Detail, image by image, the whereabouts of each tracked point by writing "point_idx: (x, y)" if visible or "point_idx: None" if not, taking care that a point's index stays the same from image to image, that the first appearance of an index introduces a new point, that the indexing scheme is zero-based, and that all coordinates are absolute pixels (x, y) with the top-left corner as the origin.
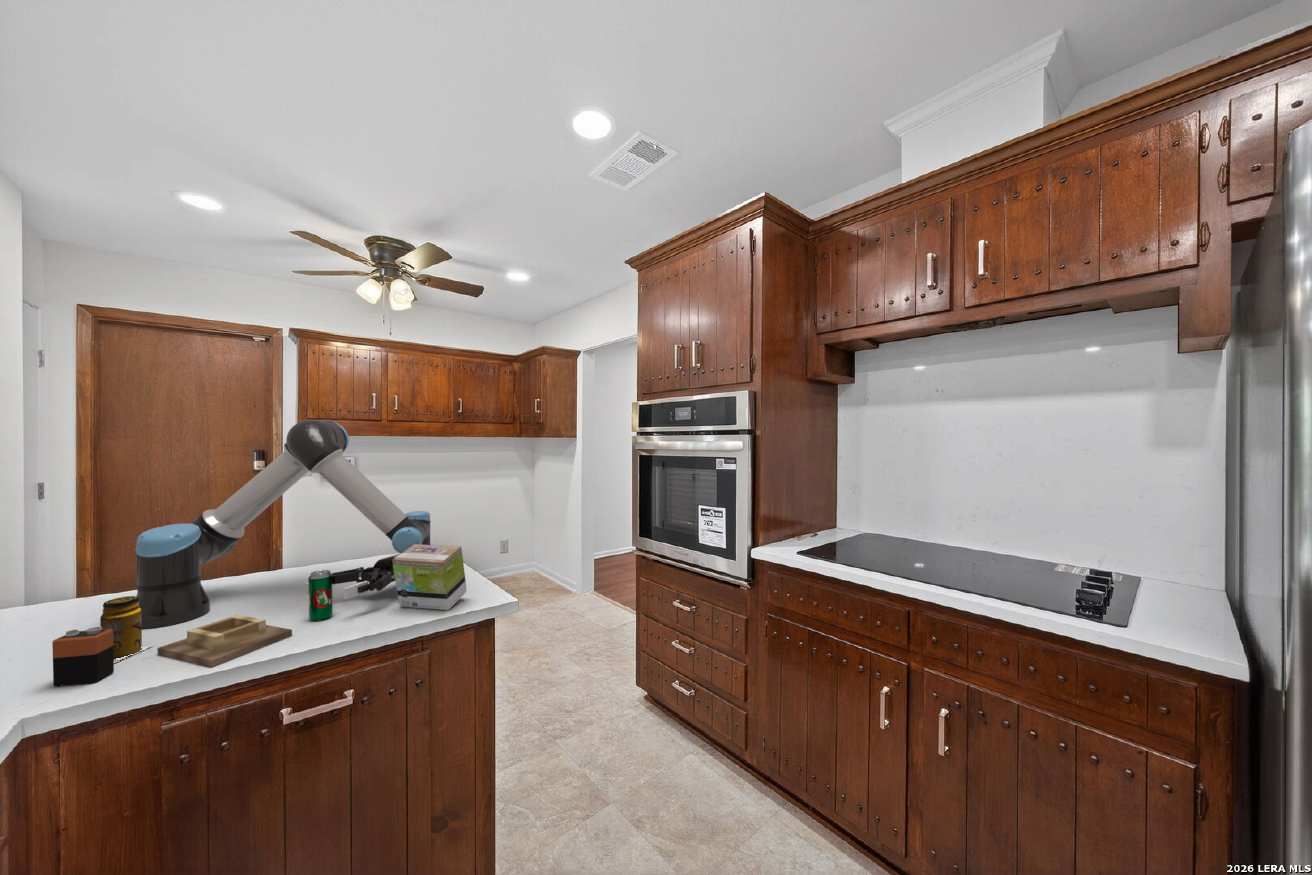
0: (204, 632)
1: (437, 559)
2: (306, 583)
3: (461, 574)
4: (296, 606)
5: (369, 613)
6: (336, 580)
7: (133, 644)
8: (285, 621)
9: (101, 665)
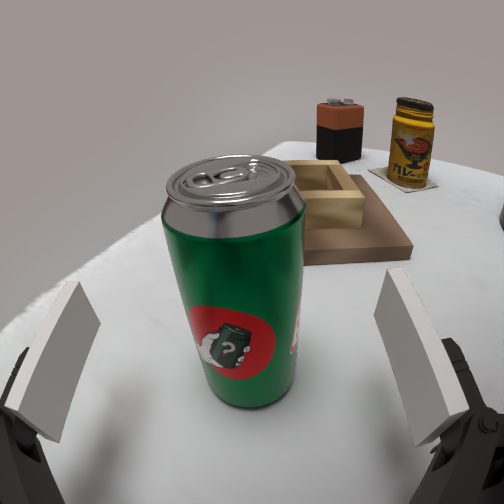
0: (299, 162)
1: None
2: (393, 268)
3: None
4: (482, 391)
5: (85, 454)
6: (432, 478)
7: (392, 167)
8: (345, 313)
9: (320, 142)
